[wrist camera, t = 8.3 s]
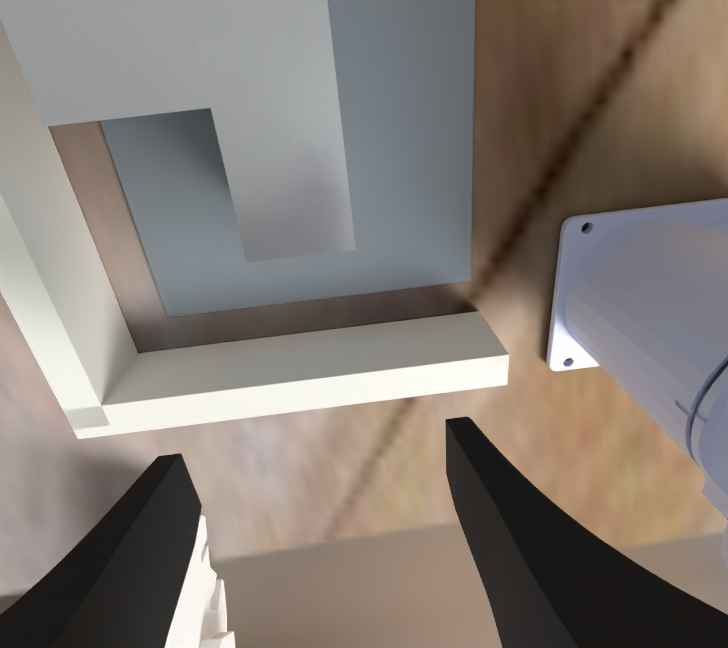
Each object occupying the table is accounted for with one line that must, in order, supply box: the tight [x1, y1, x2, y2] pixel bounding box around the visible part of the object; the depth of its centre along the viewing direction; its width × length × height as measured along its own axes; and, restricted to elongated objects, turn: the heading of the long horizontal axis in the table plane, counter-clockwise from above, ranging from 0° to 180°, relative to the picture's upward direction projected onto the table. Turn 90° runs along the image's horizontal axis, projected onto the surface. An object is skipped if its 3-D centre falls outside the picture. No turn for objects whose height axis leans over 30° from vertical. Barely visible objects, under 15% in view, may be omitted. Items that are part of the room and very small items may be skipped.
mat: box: [100, 0, 475, 318], centre depth 18 cm, size 14×12×1 cm
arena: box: [0, 18, 509, 439], centre depth 16 cm, size 18×18×4 cm
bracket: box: [0, 0, 356, 263], centre depth 15 cm, size 8×8×5 cm
